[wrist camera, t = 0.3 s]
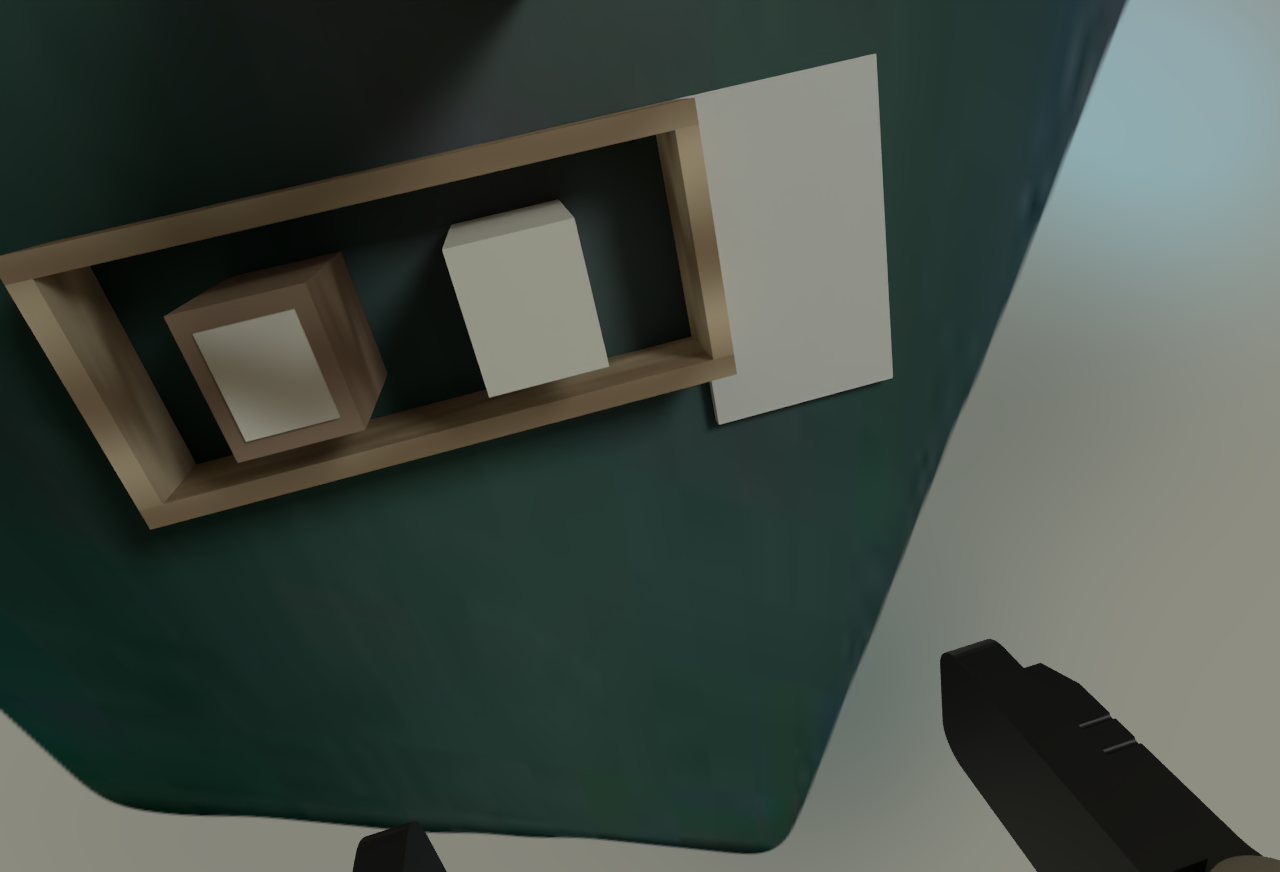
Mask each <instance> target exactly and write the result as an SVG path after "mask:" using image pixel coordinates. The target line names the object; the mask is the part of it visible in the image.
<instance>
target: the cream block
mask: <svg viewBox="0 0 1280 872" xmlns="http://www.w3.org/2000/svg"><path fill="white" fill-rule="evenodd" d="M442 252H443V255H444V258H445V261H446V264H447V267H448V270H449V273H450V277H451V280H452V283H453V286H454V289H455V292H456V295H457V298H458V302H459V305H460V308H461V311H462V314H463V317H464V320H465V324H466V327H467V330H468V333H469V336H470V339H471V342H472V345H473V349H474V352H475V355H476V358H477V361H478V364H479V367H480V370H481V374H482V377H483V380H484V383H485V386H486V389H487V392H488V395H489V398H490V397H494V396H498V395H502V394H505V393H509V392H513V391H517V390H521V389H525V388H529V387H532V386H536V385H540V384H544V383H548V382H552V381H555V380H559V379H563V378H567V377H571V376H575V375H579V374H582V373H586V372H590V371H594V370H598V369H602V368H605V367H609V363H608V359H607V355H606V351H605V346H604V342H603V338H602V334H601V329H600V325H599V321H598V317H597V312H596V308H595V304H594V300H593V295H592V291H591V287H590V283H589V278H588V274H587V270H586V266H585V261H584V257H583V253H582V249H581V244H580V240H579V236H578V232H577V227H576V223H575V219H574V217H573V216H572V215H571V214H570V212H569V211H568V210H567V209H566V208H565V207H564V205H563V204H562V203H561V202H560V201H559V200H558V199H557V200H553V201H549V202H544V203H540V204H536V205H532V206H528V207H523V208H519V209H515V210H511V211H506V212H502V213H498V214H494V215H490V216H485V217H481V218H477V219H473V220H469V221H464V222H460V223H456V224H452V225H451V226H450V229H449V232H448V234H447V237H446V240H445V243H444V245H443V248H442Z"/></svg>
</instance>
